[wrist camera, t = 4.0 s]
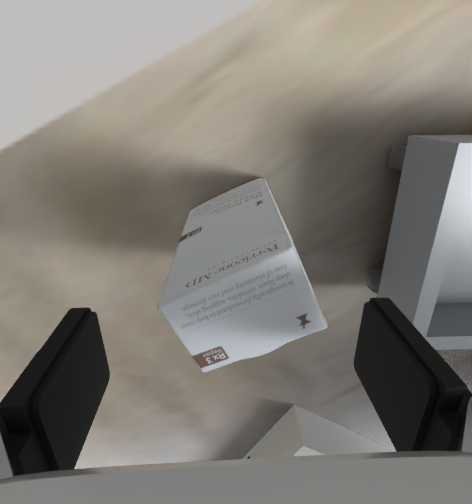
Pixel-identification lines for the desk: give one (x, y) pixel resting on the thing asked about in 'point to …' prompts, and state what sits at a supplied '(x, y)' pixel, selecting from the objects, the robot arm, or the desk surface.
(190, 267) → the skincare box
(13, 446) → the robot arm
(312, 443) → the disc drive
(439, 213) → the grey square tray
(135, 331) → the desk surface
